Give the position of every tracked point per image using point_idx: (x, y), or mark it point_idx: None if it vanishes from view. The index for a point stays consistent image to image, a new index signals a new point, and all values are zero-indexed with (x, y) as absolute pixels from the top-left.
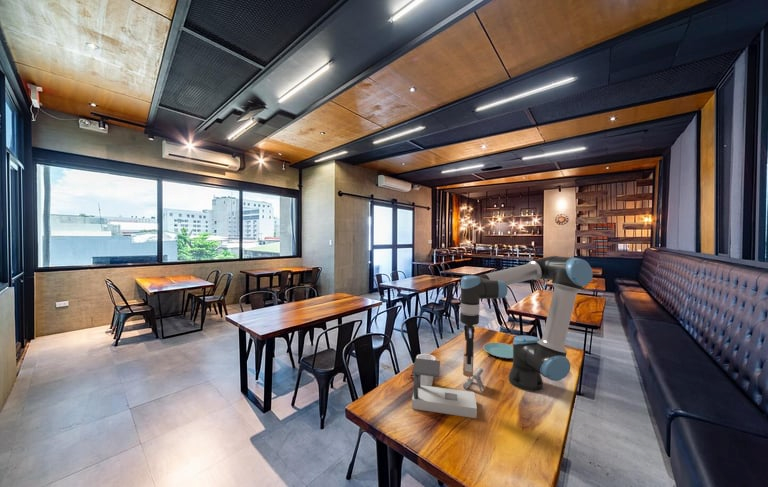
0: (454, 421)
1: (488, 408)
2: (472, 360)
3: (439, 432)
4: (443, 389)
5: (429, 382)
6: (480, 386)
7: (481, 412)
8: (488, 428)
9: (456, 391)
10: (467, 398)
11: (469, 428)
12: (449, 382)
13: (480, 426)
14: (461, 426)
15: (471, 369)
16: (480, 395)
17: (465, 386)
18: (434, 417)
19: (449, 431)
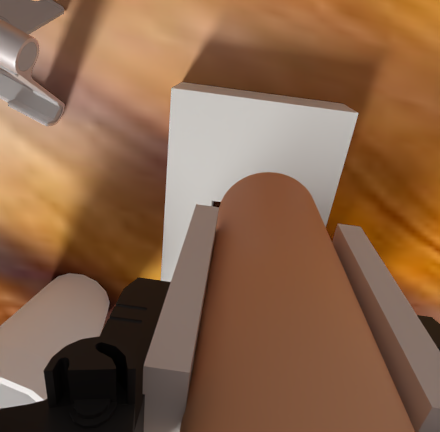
0: (362, 215)
1: (246, 4)
2: (354, 299)
3: (427, 280)
4: (175, 263)
5: (95, 303)
6: (30, 6)
7: (288, 62)
8: (429, 56)
9: (183, 199)
10: (252, 149)
11: (417, 157)
12: (21, 190)
13: (408, 98)
14: (399, 191)
15: (368, 249)
16: (109, 24)
17: (52, 112)
18: None
19: (427, 244)
